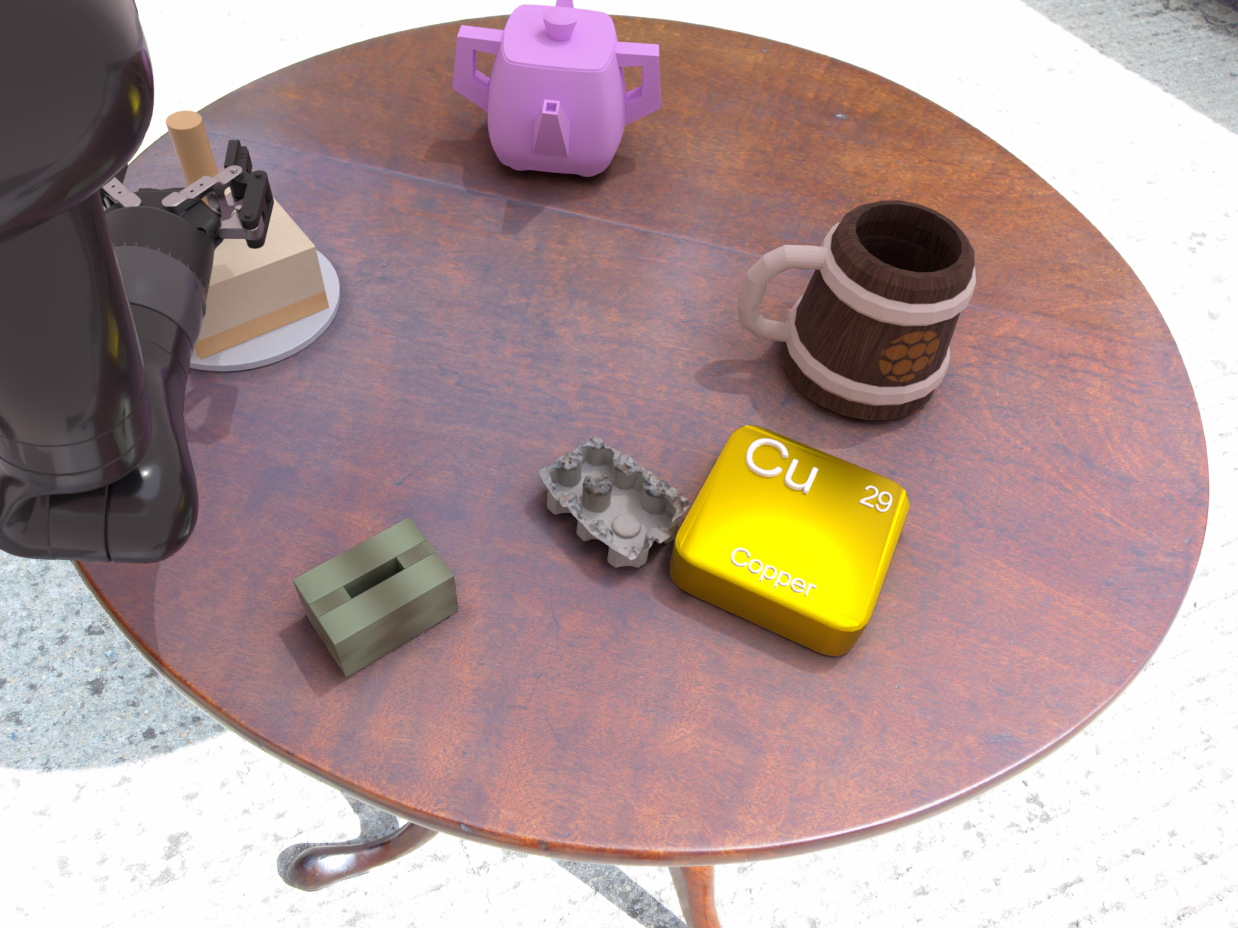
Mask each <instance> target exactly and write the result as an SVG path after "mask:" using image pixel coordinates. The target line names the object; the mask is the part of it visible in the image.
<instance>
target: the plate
mask: <svg viewBox="0 0 1238 928" xmlns="http://www.w3.org/2000/svg"><path fill="white" fill-rule="evenodd" d="M316 251H317V255H318V260H319V264H320V269H321V273H322V278H323V282H324V287H325V291H326V295H327V300H328V304H329V308H326V309H324V310H321V311H319V312H316V313H314V314H312V315H309V316H307V317H304V318H302V319H299V320H297V321H294V322H292V323H289V324H287V325H284V326H282V327H280V328H277V329H275V330H272V331H270V332H267V333H265V334H262V335H260V336H257V337H255V338H252V339H250V340H248V341H245V342H243V343H240V344H238V345H235V346H233V347H230V348H228V349H225V350H223V351H221V352H218V353H216V354H213V355H211V356H208V357H206V358H203V359H200V358H199V356H198V355H197V353H196V352H195V350H193V353H192V357H191V362H190V367H189V369H193V370H197V371H198V370H199V371H206V372H222V373H223V372H224V373H225V372H239V371H246V370H252V369H253V370H254V369H257V368H261V367H264V366H265V367H266V366H268V365H272V364H275V363H277V362H280V361H283V360H285V359H288V358H290V357H292V356H294V355H295V354H297V353H299V352H301V351H303V350H305V349H306V348H308V347H309V346H310V345H311V344H313V343H314V342H315V341H316V340H318V339H319V338H320V337H321V336H322V335H323V334H324V333H325V332H326V330H327V329H328V328H329V327H330V325H331V324H332V322H333V321H334V319H335V318H336V317H337V313H338V311H339V308H340V304H341V299H342V298H341V295H342V291H341V284H340V279H339V276H338V274H337V271H336V269H335V267H334V266H333V264H332V262H331V261H330V260H329V259H328V258H327V257H326V256H325V255H324V254H323V253H322V252H321V251H319V250H318V249H317V248H316Z"/></svg>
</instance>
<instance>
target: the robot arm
mask: <svg viewBox="0 0 1238 928" xmlns="http://www.w3.org/2000/svg"><path fill="white" fill-rule="evenodd" d="M136 3H137V2H136V1H135V0H0V551H1V552H4V553H6V554H9V555H11V556H14V557H18V558H23V559H28V560H47V561H72V562H73V561H76V562H95V563H96V562H97V563H99V562H100V563H111V562H113V563H116V564H117V563H119V564H143V565H144V564H153V563H154V564H155V563H159V562H162V561H165V560H167V559H169V558H171V557H173V556H174V555H175V554H176V553H178V552H179V551H180V550H181V549H182V548H183V547H184V546H185V544H187V542H188V541H189V539H190V538H191V536H192V534H193V533H194V531H195V528H196V525H197V521H198V518H199V512H200V511H199V510H200V508H199V507H200V506H199V505H200V501H199V500H200V499H199V490H198V483H197V477H196V474H195V468H194V465H193V464H194V463H193V459H192V457H191V453H190V448H189V445H188V439H187V434H186V427H185V414H184V412H185V408H184V407H185V396H186V389H187V383H188V378H189V372H190V368H189V367H190V362H191V357H192V353H193V350H194V348H195V346H196V343H197V341H198V338H199V335H200V331H201V327H202V322H203V319H204V317H205V315H206V308H207V304H206V300H207V294H208V289H209V284H210V278H211V273H212V267H213V260H214V251H215V249H216V248H217V247H218V246H219V245H220V244H221V243H222V242H223V240H224V239H246V243H247V246H248V247H249V248H251V249H258V248H261V247H262V246H264V244H265V240H266V235H267V231H268V227H269V222H270V218H271V214H272V210H273V205H274V199H275V198H274V195H273V192H272V189H271V184H270V180H269V176H268V173H267V172H266V171H265V170H263V169H258V170H257V169H256V170H254V171H253V162H252V158H251V155H250V151H249V149H248V147H247V146H246V145H242V143H241V141H240V139H228V141H227V142H228V143H227V147H226V151H225V156H224V162H223V168H224V169H222V170H221V171H219V172H218V174H217V175H215V176H214V177H212V178H211V177H209V176H203V177H201V178H200V179H198V180H197V181H195V182H194V183H192V184H191V185H189V186H186V187H170V188H164V189H159V188H154V187H153V188H152V187H140V188H138V190H137V191H133V192H132V191H131V190H129V189H128V187H126V186H125V185H124V181H125V178H126V175H127V171H128V168H129V163H130V161H131V160H132V159H133V158H134V156H136V154H137V153H138V151H139V149H140V148H141V146H142V144H143V142H144V139H145V137H146V134H147V132H148V131H149V127H150V125H151V121H152V118H153V116H154V106H155V77H154V71H153V70H154V69H153V63H152V59H151V55H150V51H149V50H150V49H149V46H148V42H147V39H146V35H145V32H144V29H143V26H142V22H141V20H140V16H139V11H138V6H137V4H136ZM228 187H230V190H231V192H230V193H229V194H227V195H226V196H225V190H226V189H227V188H228ZM205 196H206V199H207V202H208V205H209V206H208V205H207V204H206V203H204V202H203V201H202V200H201V199H202V198H204V197H205ZM273 198H274V199H273ZM241 205H242V206H241ZM234 210H236V212H235V213H233V215H232V216H231V214H232V212H233V211H234Z"/></svg>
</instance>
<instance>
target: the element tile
mask: <svg viewBox="0 0 1238 928" xmlns="http://www.w3.org/2000/svg"><path fill="white" fill-rule="evenodd" d="M702 484H703V485H702V486H701V488H700V490H699V491H698V493H697V496H696V498H695V500H694V501H693V503H692V504H691V506H690V507H689V510H688V512H687V514H686V515H685V518H684V520H683V521H682V522H681V525H680V526H679V528H678V529H677V530H678V531H676V536H675V538H674V543H673V547H672V551H671V556H670V559H669V563H668V564H669V568H668V569H669V570H668V571H669V575H670V578H671V580H672V582H673V583H674V584H675V586H677V587H678V588H679V589H680V590H682V591H684V592H685V593H687V594H689V595H691V596H693V597H696V598H697V599H700V600H701V601H705V602H707V603H709V604H710V605H713V606H716V607H717V608H719V609H722V610H724V611H726V612H728V613H731V614H733V615H735V616H737V617H739V618H741V619H743V620H746V621H748V622H750V623H753V624H755V625H757V626H759V627H761V628H763V629H766V630H768V631H770V632H772V633H774V634H777V635H779V636H780V637H783V638H785V639H788V640H789V641H792V642H794V643H797V644H798V645H801V646H802V647H805V648H807V649H810V650H811V651H814V652H816V653H818V654H821V655H825V656H830V657H839V656H842V655H846V654H847V653H849V652H850V651H852V649H853V648H854V647H855V645H856V644H857V641H859V639H860V637H861V635H862V634H863V632H864V630H865V629H866V627H867V626H868V624H869V622H870V621H871V619H872V616H873V615H874V611H875V607H876V606H877V602H878V599H879V597H880V594H881V590H882V587H883V585H884V582H885V581H886V576H887V574H888V571H889V568H890V566H891V562H892V559H893V557H894V554H895V551H896V548H897V545H898V542H899V539H900V537H901V534H902V531H903V528H904V525H905V522H906V520H907V517H908V514H909V511H910V506H911V502H910V498H909V497H910V496H909V494H908V492H907V491H906V489H905V488H904V487H903V486H902V485H901V484H899V483H898V482H896V480H893V479H891V478H889V477H887V476H884V475H882V474H880V473H877V472H875V471H872V470H870V469H867V468H865V467H862V466H860V465H857V464H855V463H852V462H850V461H847V460H845V459H843V458H840V457H838V456H835V455H832V454H830V453H828V452H825V451H823V450H820V449H818V448H815V447H814V446H811V445H808V444H807V443H804V442H800V441H799V440H796V439H793V438H791V437H789V436H786V435H783V434H781V433H779V432H777V431H774V430H771V429H769V428H766V427H763V426H760V425H755V424H745V425H741V426H739V427H738V428H736V429H735V430H733V431H732V432H731V434H730V435H729V437H728V438H727V441H726V443H725V444H724V446H723V448H722V450H721V452H720V454H719V455H718V457H717V458H716V461H715V462H714V464H713V466H712V468H711V469H710V472H709V473H708V476H707V477H706V479H705V481H704V483H702Z"/></svg>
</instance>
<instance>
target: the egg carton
mask: <svg viewBox="0 0 1238 928" xmlns="http://www.w3.org/2000/svg"><path fill="white" fill-rule="evenodd" d="M538 475H539V477H540V479H541V481H542V482H543V484H544V485H545V487H546V488H547V495H546V508H547V510H548V511H549V512H551V513H552V514H553V515H560V514H568V513H569V514H572V516H573V517H574V518H576V521H577V524H576V535H577V536H578V537H579V539H581V540H582V541H583V542H587V541H591V540H599V541H601V542H602V543H604V544H605V545H607V546H608V553H607V563H609V564H610V566H612V567H614V568H620V567H627V566H628V567H633V568H638V569H639V568H640V567H641V566H644V565H646V563H647V561H648V556H649V550H650V548H651V547H652V546H653V545H654V542H656V543H657V544H662V543H664V544H670V542H672V541H674V540H675V538H676V535H677V532H678V531H677V530H678V527H679V519H678V518H679V517H680V516H682V515H683V514H684V513H685V512H686V510H688V509H689V508H690V507H691V506H690V504H691V503H690V502H689V499H688V498H686V497H684V494H683V493H682V492H681V491H680V490H679V489H677V488H675V487H674V486H673V484H671V483H670V482H667V481H666V480H664V479H662V480H659V478H657V476H655V474H654V473H653V472H652V471H651V470H647V469H646V468H645V467H643V466H642V465H641V464H639V463H638V462H637V460H635V459H634V457H632V456H630V455H629V454H628V455H627V454H626V453H625V452H623V451H620V450H617V449H616V448H614V447H612V446H609V445H606V444H605V442H604V440H603V439H602V438H601V437H599V436H596V435H593V436H592V437H591V438H590V440H588V442H585V444H583V443H580V444H578V445H577V446H576V447H575V448H574V449H573V450H570V451H568V452H566V453H565V454H563V455H562V456H560V457H557V458H555V460H554V461H553V462H552V463H551V464H549V465H546V466H545V467H543V468H541V469H540V470H538Z"/></svg>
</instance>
